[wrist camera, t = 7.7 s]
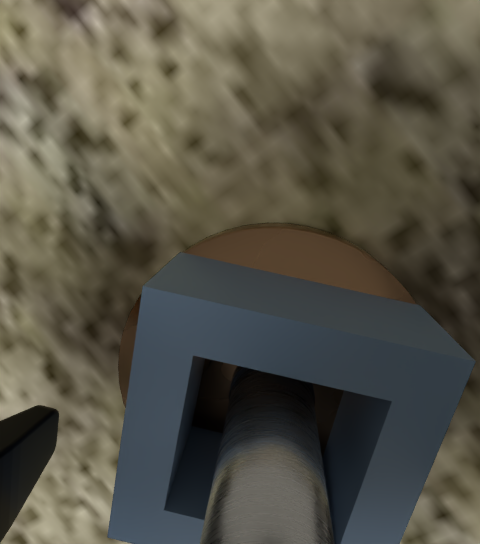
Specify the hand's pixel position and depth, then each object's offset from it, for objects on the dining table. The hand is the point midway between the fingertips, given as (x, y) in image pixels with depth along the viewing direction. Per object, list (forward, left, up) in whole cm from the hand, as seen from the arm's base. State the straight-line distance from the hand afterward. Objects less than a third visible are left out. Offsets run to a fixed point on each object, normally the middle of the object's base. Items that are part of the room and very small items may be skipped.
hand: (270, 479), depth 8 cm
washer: (0, 0, -4) cm, 4 cm away
